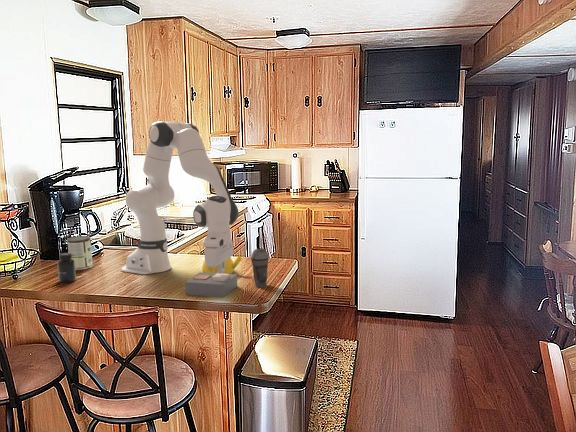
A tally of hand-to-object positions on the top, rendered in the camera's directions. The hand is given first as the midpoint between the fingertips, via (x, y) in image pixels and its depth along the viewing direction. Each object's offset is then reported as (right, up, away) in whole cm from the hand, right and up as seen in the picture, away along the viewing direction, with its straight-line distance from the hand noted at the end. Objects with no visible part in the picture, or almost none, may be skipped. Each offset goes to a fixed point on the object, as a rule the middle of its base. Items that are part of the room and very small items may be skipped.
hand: (221, 272), depth 206 cm
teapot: (-2, -4, +26) cm, 26 cm away
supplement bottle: (-69, -6, +20) cm, 72 cm away
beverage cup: (+15, -6, +7) cm, 18 cm away
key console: (-4, -7, +2) cm, 9 cm away
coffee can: (-72, -2, +42) cm, 83 cm away
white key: (0, -3, +1) cm, 4 cm away
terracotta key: (-8, -4, +3) cm, 9 cm away
